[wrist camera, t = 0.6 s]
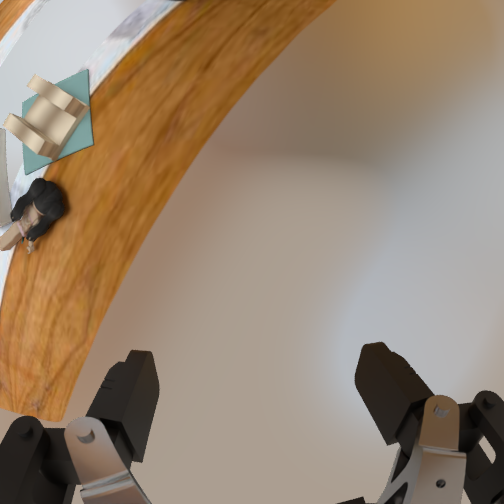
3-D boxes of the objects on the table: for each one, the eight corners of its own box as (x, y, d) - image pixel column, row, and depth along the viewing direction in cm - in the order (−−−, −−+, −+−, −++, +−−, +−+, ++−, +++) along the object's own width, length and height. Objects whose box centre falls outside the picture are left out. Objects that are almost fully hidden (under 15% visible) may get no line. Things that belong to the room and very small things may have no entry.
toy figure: (25, 269, 33) (76, 207, 32) (0, 276, 26) (50, 205, 26) (8, 234, 32) (56, 170, 31) (-17, 237, 26) (30, 164, 25)
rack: (21, 133, 28) (1, 127, 23) (52, 84, 28) (36, 72, 22) (56, 161, 30) (36, 156, 25) (90, 107, 30) (74, 95, 24)
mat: (23, 103, 27) (22, 102, 27) (88, 70, 29) (87, 68, 28) (26, 175, 30) (25, 175, 30) (93, 144, 31) (92, 144, 31)
